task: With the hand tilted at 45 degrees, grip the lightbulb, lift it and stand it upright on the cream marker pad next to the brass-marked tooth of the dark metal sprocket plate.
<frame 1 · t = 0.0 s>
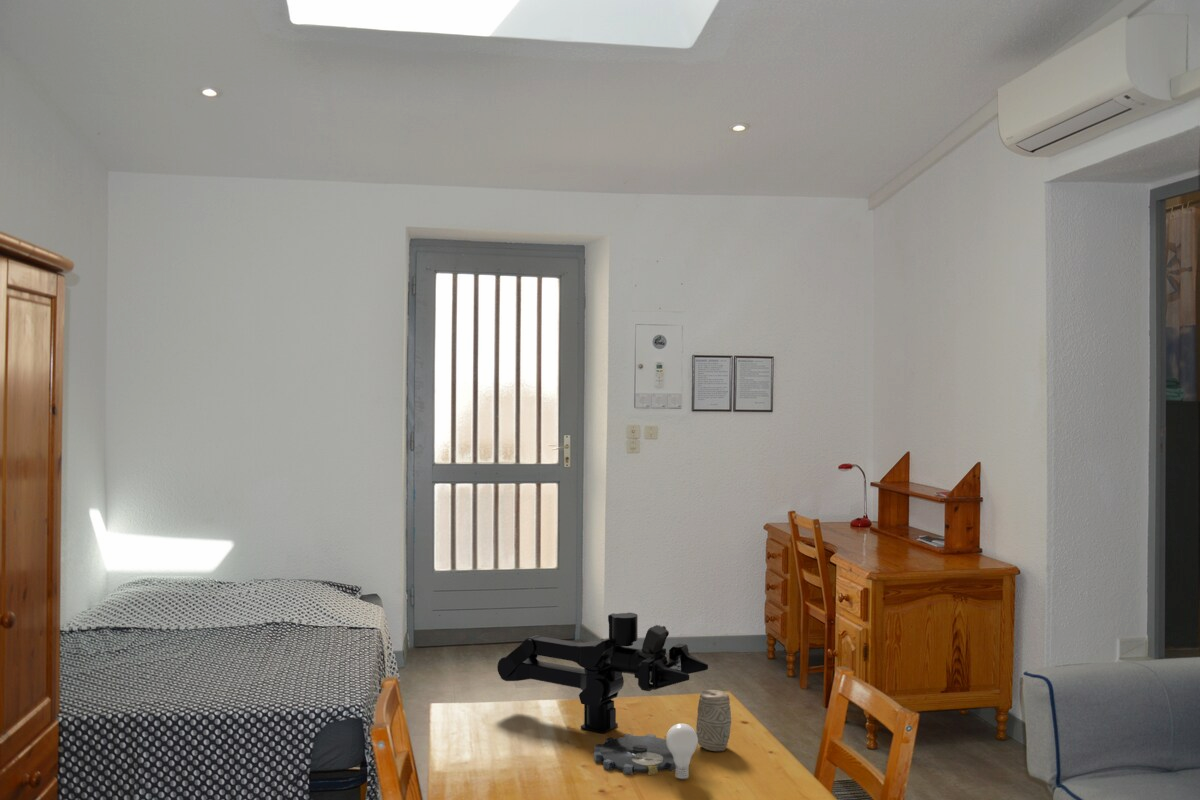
hand: (698, 672, 211), 17 cm above the table, tool horizontal, fingers open, 9 cm apart
carving: (713, 749, 211), on the table
lightbulb: (682, 780, 194), on the table
sprocket plate: (640, 757, 206), on the table
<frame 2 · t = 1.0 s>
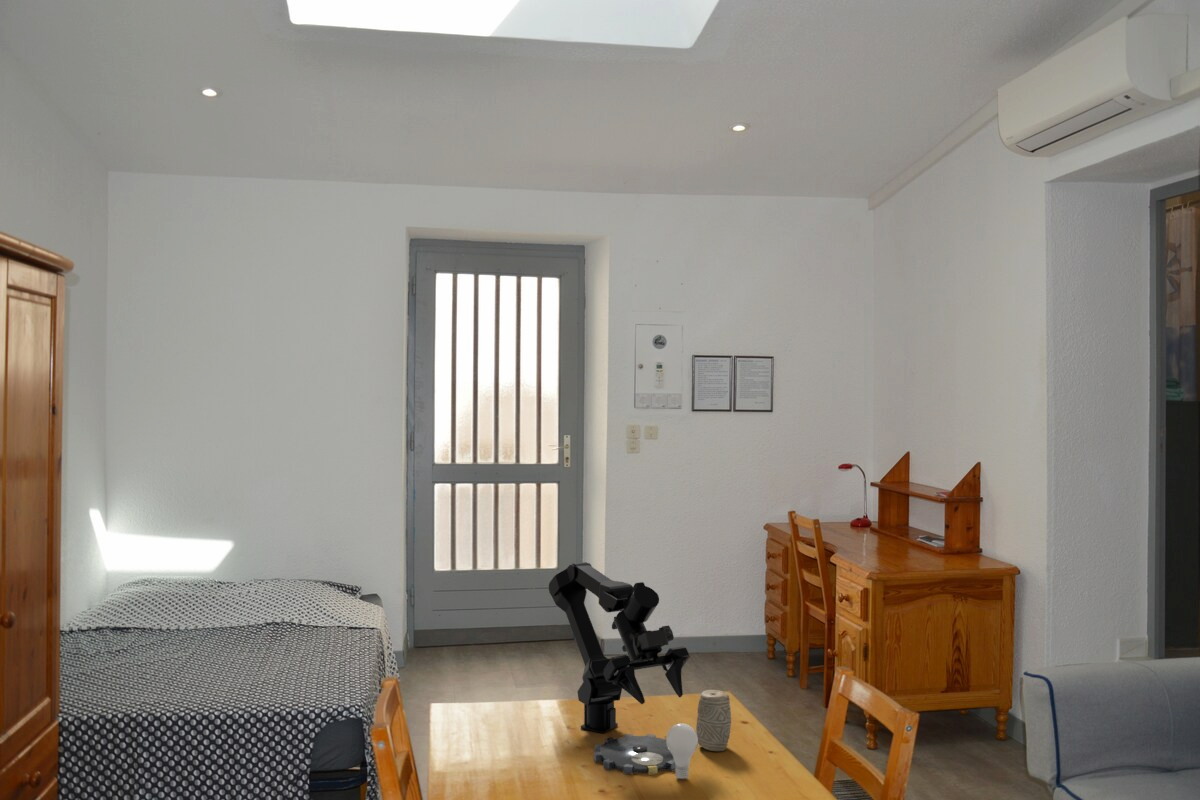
hand: (662, 699, 201), 14 cm above the table, tool tilted 45°, fingers open, 9 cm apart
nothing on the table moved.
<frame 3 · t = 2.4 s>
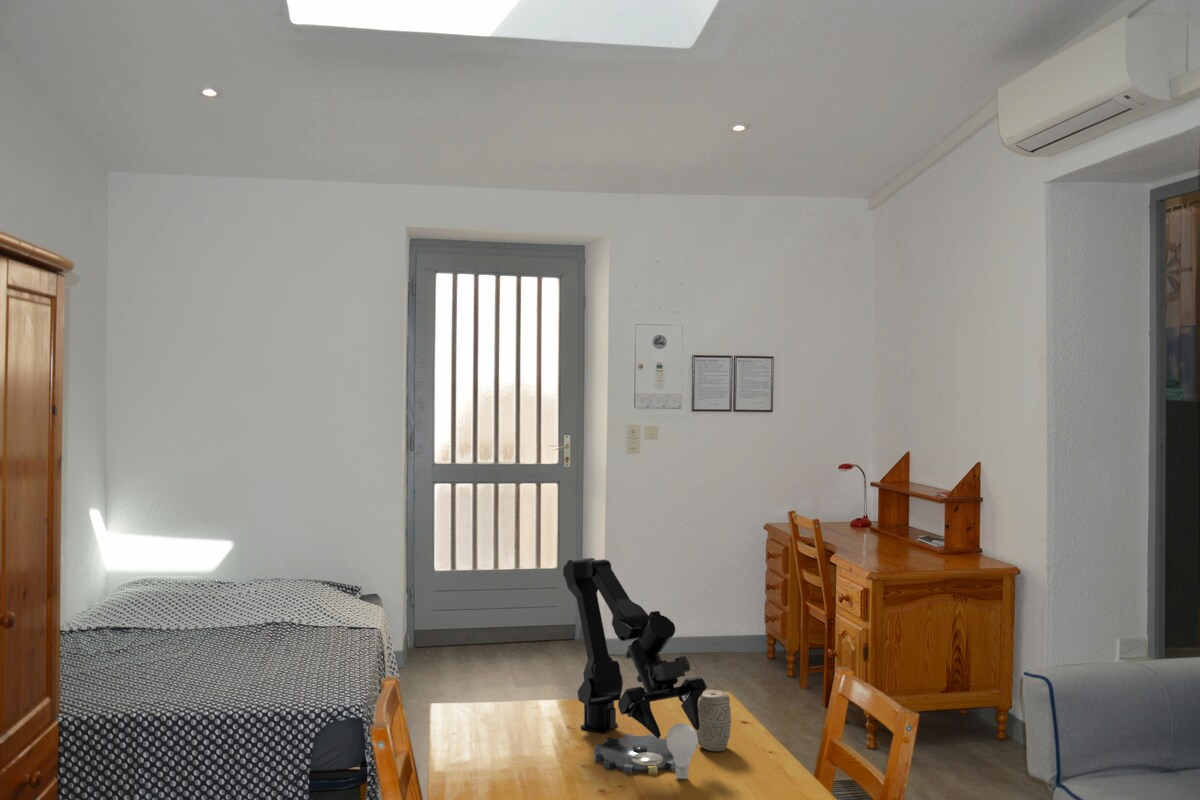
hand: (678, 733, 195), 9 cm above the table, tool tilted 45°, fingers open, 9 cm apart
nothing on the table moved.
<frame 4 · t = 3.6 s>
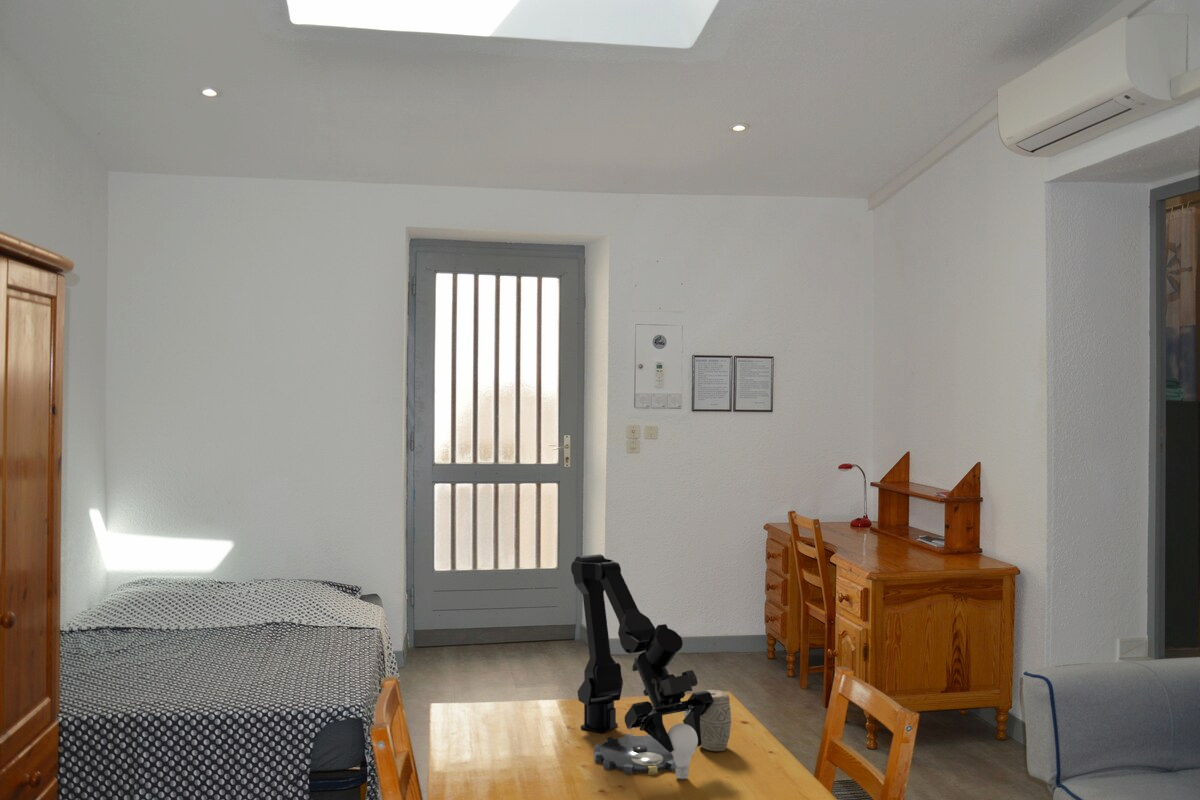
hand: (685, 748, 193), 7 cm above the table, tool tilted 45°, fingers closed on lightbulb, 6 cm apart
lightbulb: (682, 780, 194), on the table, touching gripper
everything else where it was.
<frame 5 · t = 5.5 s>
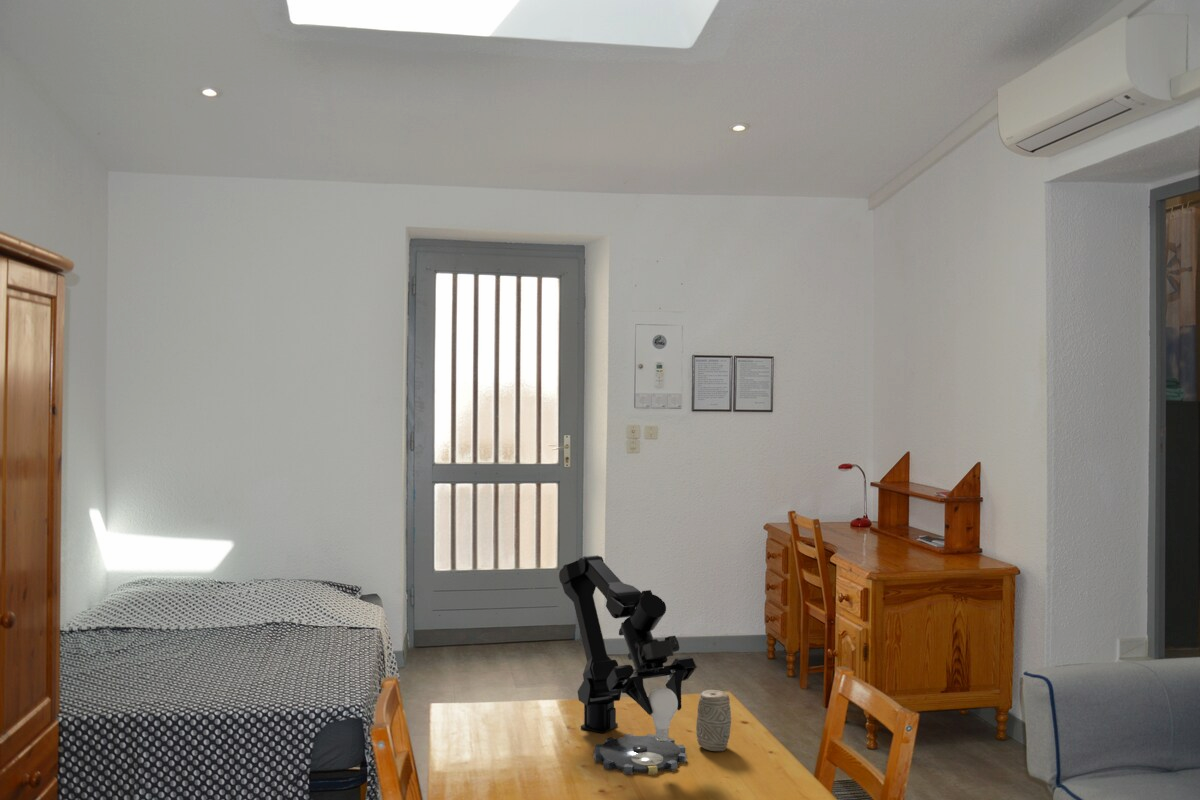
hand: (665, 711, 197), 13 cm above the table, tool tilted 45°, fingers closed on lightbulb, 6 cm apart
lightbulb: (661, 742, 198), point 6 cm above the table, touching gripper
everything else where it was.
when the fingers open (9 cm above the table, at t = 7.2 s): lightbulb stays where it is, resting on sprocket plate.
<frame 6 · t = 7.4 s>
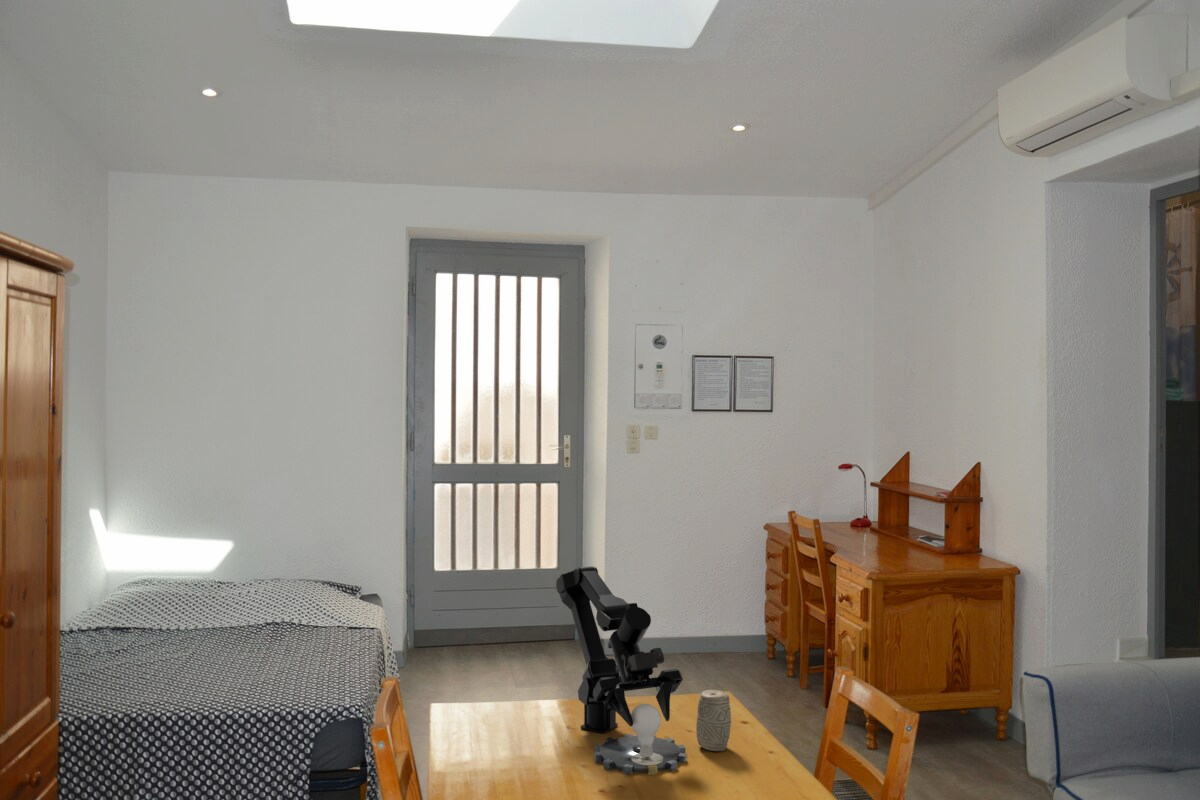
hand: (650, 722, 199), 10 cm above the table, tool tilted 45°, fingers open, 8 cm apart
lightbulb: (646, 758, 201), point 2 cm above the table, touching sprocket plate
everything else where it was.
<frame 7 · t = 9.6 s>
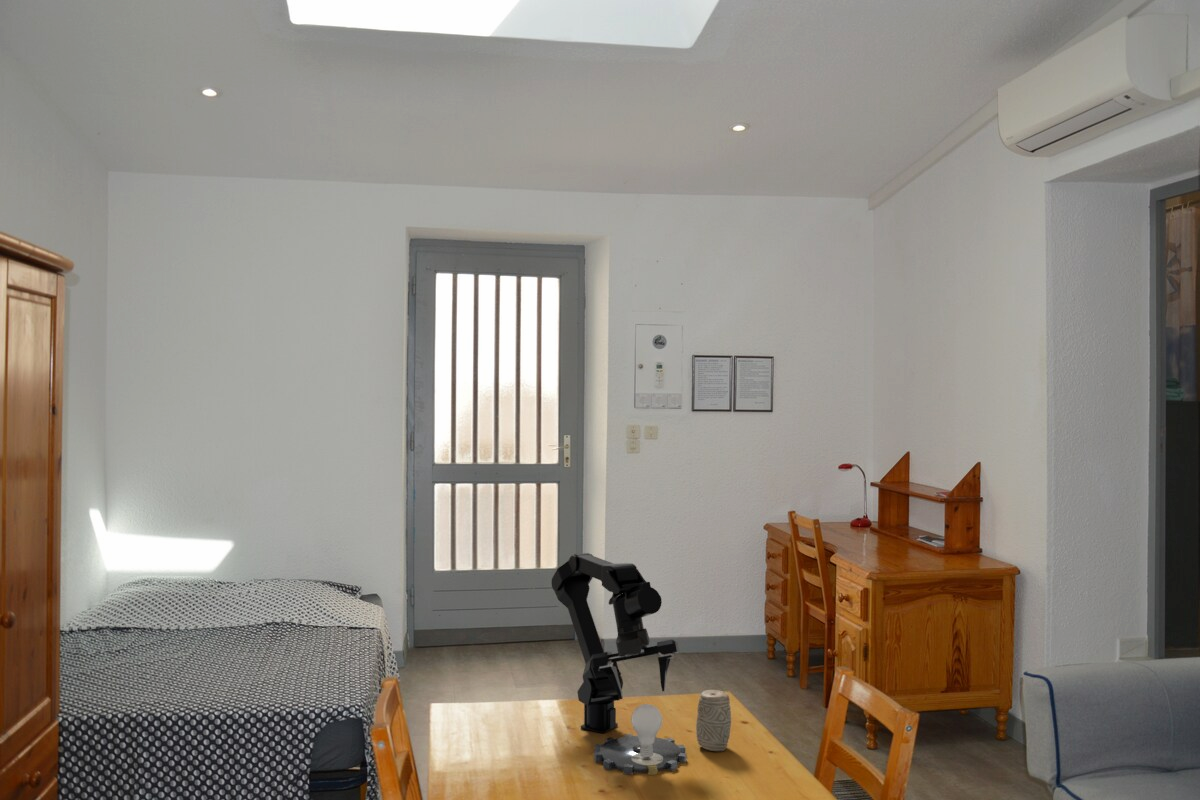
hand: (642, 695, 208), 13 cm above the table, tool tilted 20°, fingers open, 9 cm apart
nothing on the table moved.
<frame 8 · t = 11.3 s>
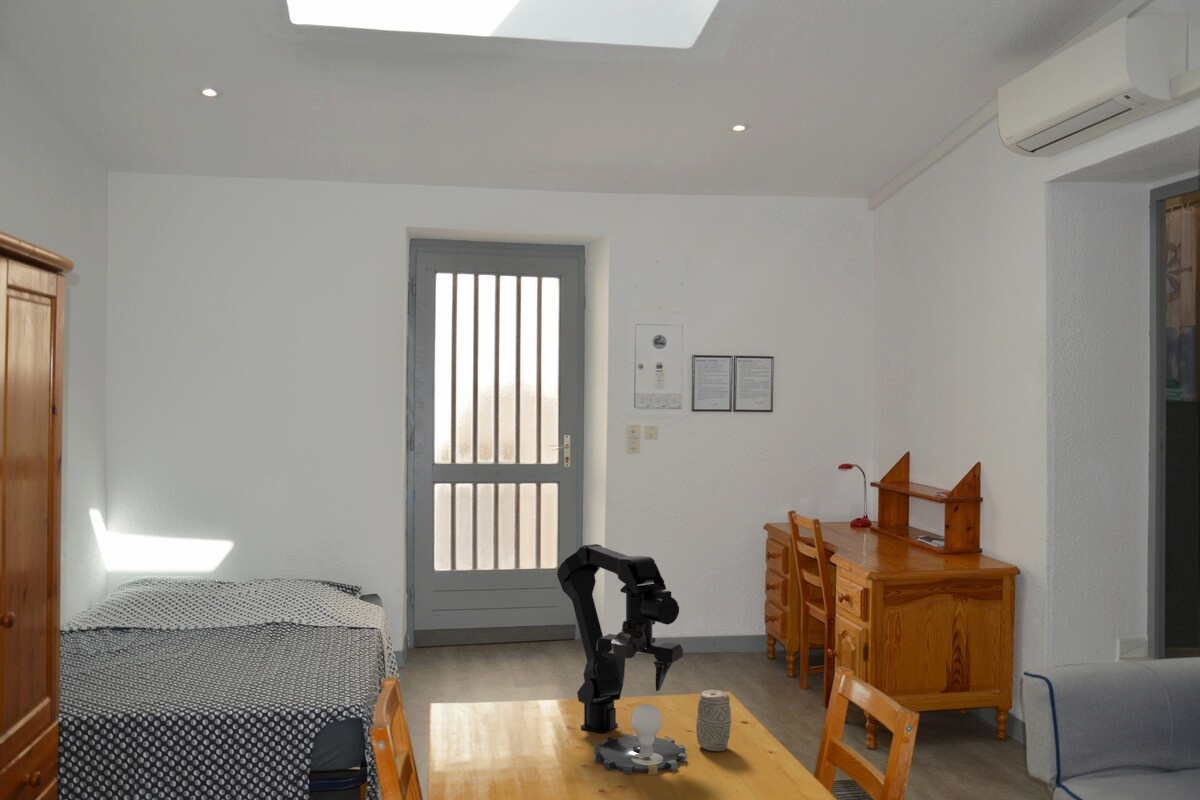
hand: (639, 687, 212), 13 cm above the table, tool pointing down, fingers open, 9 cm apart
nothing on the table moved.
at the end: lightbulb 0.2 cm from the target spot on the sprocket plate, point 1.6 cm above the sprocket plate's base; lightbulb tilted 1°; the gripper is holding nothing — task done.
